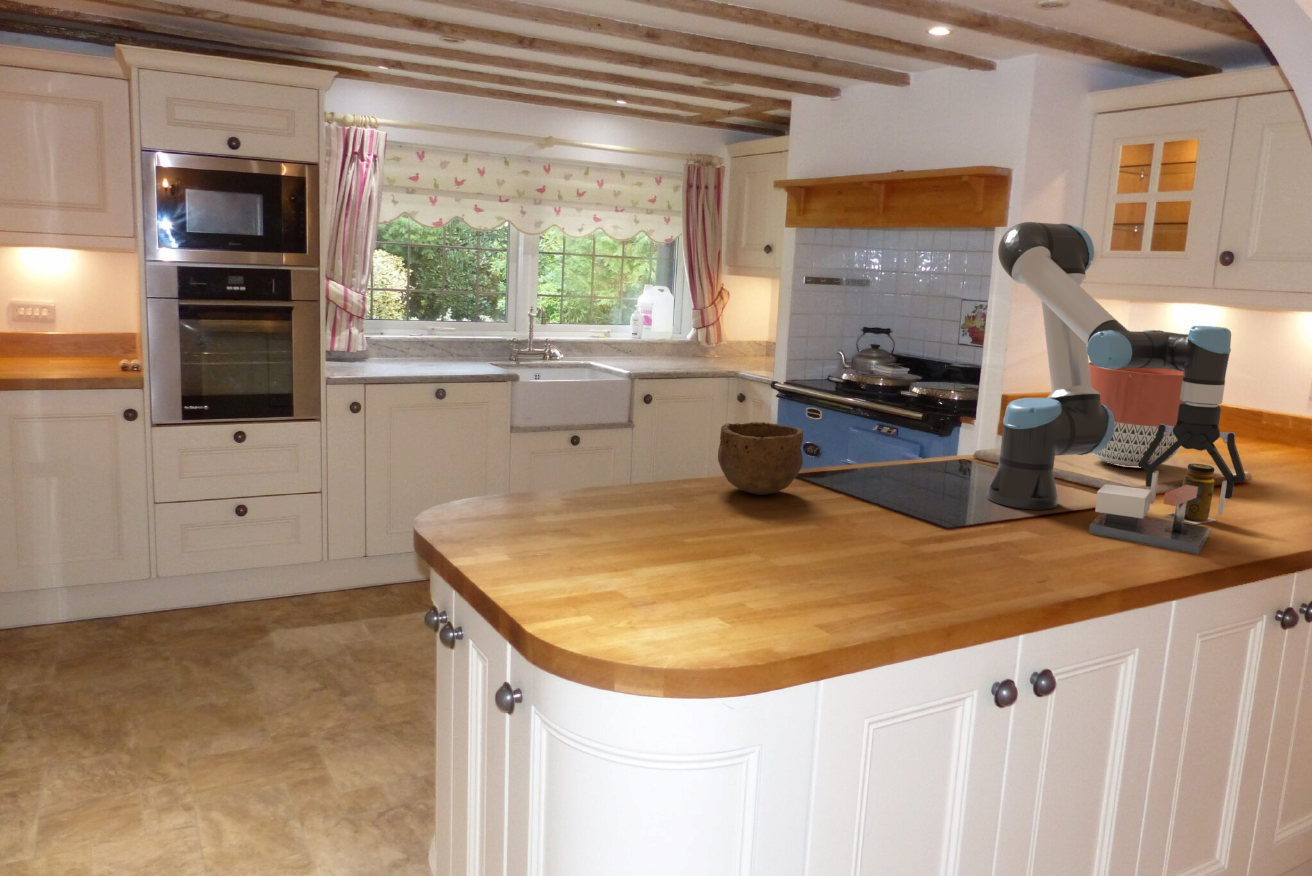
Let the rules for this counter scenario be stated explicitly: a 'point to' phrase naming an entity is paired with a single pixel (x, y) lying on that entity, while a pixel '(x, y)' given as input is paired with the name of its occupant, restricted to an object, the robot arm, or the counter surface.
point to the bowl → (760, 456)
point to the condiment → (1198, 493)
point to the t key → (1180, 503)
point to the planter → (1137, 410)
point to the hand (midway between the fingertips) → (1185, 507)
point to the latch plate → (1150, 532)
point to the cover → (1123, 501)
